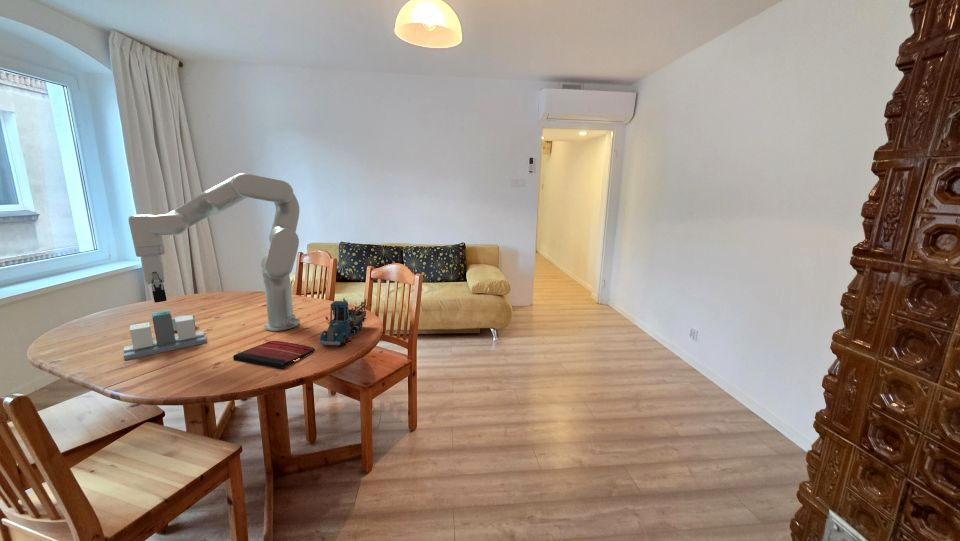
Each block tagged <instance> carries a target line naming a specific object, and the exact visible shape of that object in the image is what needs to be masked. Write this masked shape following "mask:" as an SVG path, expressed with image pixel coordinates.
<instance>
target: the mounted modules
mask: <svg viewBox="0 0 960 541" xmlns="http://www.w3.org/2000/svg"><path fill="white" fill-rule="evenodd" d="M194 319H195V318H194ZM194 319H193V317H192V314H190V315H188V316H182V317H177V318H175V322H176V328H177V331H176V333H177V336H178V338H179V340H184V339H189V338H194V337H196V332H197V331H196V327H195V326H194ZM129 332H130V333H129V334H130V338H131V345H133V349H139V348H144V347H149V346H153V341H154V340H153V335H152V329H151V323H150V321H147V322H143V323H142V322H141V323H137V324H135V323H134V324H130V325H129Z"/></svg>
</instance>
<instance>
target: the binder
mask: <svg viewBox="0 0 960 541" xmlns="http://www.w3.org/2000/svg"><path fill="white" fill-rule="evenodd" d="M314 350H315V351H316V348H315V347H311V346H308V345H304V344H299V343H293V342H288V341H280V340H270V341H266V342H264V343H262V344H259V345H256V346H253V347H250V348H248V349H245V350H243V351H241V352H238V353H236V354H234V355H233V356H232V358H233V360H234V361H236V362H237V361H238V362H242V363H249V364H251V365H252V364H253V365H259V366H265V367H269V368H274V369H280V370H285V369H284V366H288V365H289V364H290V362H291V361H293V360H296V359H298V358H300V360H302V359H304V358H306V357H307V356H309V355H311V354H312V353H314V352H315V351H314ZM313 351H314V352H313ZM310 353H311V354H310ZM308 354H309V355H308ZM306 355H307V356H306ZM305 356H306V357H305ZM303 357H304V358H303ZM301 358H302V359H301ZM288 363H289V364H288ZM291 363H292V362H291ZM287 364H288V365H287Z"/></svg>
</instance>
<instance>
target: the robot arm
mask: <svg viewBox="0 0 960 541" xmlns="http://www.w3.org/2000/svg"><path fill="white" fill-rule="evenodd" d="M248 198H249V199H252V200H253V199H254V200H259V201H260V200H261V201H267V202H271V203H272V202H273V203H274V206H275V213H274V218H273V219H274V220H273V223H272V226H271V229H270V233H269V236H268V240H269V243H270V246H269V250H268V252H267V253H266V254H265V255H263V257H262V259H261V262H260V265H261V274H262V278H263V284H264V285H263V286H264V295H265V296H264V297H265V303H266V304H265V305H266V312H267V313H266V315H267V322H266V323H265V324H264V330H267V331H271V332H280V331H287V330H290V329H292V328H295V327H296V326H298V325H299V323H301V319H300V318H296V314H294V308H293V307H294V306H293V296H292V286H291V278H290V275H291V273H292V271H293V269H294V266H295V261H296V257H297V254H298V250H299V246H300V240H299V235H298V233H297V228H298V222H299V217H300V204H299V202H298V199H297V197H296V195H295V194H294V190H293V187H292V186H291V184H289V182H286V181H284V180H281V179H276V178H269V177H265V176H259V175H254V174H251V173H248V172H247V173H246V172H241V173H237V174H235V175H233V176H231V177H229V178H228V179H226V180H224V181H222V182H220V183H218V184H216V185H214V186H212V187H211V188H208V189H207V190H204V191H203V192H201V193H200V194H198V195H197V196H196V197H194V198H193V199H192V200H190V201H188V202H186V203H184V204H183V205H180V206H178V207H177V208H175V209H173V210H170V211H169V212H167V213H165V214H156V215H155V214H153V213H146V214H145V213H143V214H131V215H130V216H128V218H127V219H128V225H129V229H130V234H131V239H132V243H133V247H134V252H135V256H136V257H138V258H140V261H141V262H140V263H141V269H142V272H143V277H144V282H145V285H146V286H150V285H151V289H152V291H151V293H152V297H153V301H154V303H160V302H161V303H162V302H167V301H168V299H167V295H166V291H165V286H164V283H165V281H166V280H165V269H164V262H163V259H162V258H163V255H166V250H165V246H164V240H163V236H179V235H181V234H184V233H185V232H186V231H187V230H188V229H189V228H191V227H192V226H194V225H197V223H200V222H201V221H203V220H205V219H207V218H209V217H211V216H216V215H218V214H221V213H222V212H225V211H226V210H228V209H229V208H232V207H233V206H235V205H237V204H239V203H241V202H242V201H244V200H245V199H248Z"/></svg>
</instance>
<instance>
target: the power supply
mask: <svg viewBox="0 0 960 541" xmlns="http://www.w3.org/2000/svg"><path fill="white" fill-rule="evenodd" d="M191 315H192V314H191ZM182 316H188V315H187V314H186V315H177V316H174V317H172V323H173V329H174V332H177V328H176V322H175V318H177V317H182ZM192 317H193V319H194V326H195V328H196V326H197V324H196V320H195V315H192Z"/></svg>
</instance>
